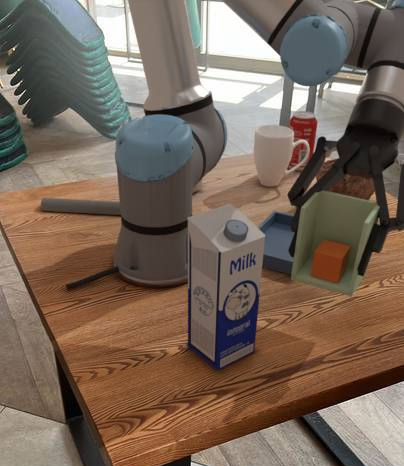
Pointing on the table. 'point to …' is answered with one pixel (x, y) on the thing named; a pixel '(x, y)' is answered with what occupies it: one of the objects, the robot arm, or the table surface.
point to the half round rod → (81, 206)
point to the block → (330, 261)
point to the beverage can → (302, 136)
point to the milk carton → (223, 284)
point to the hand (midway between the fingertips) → (325, 263)
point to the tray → (277, 242)
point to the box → (333, 236)
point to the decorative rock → (349, 184)
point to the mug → (274, 153)
